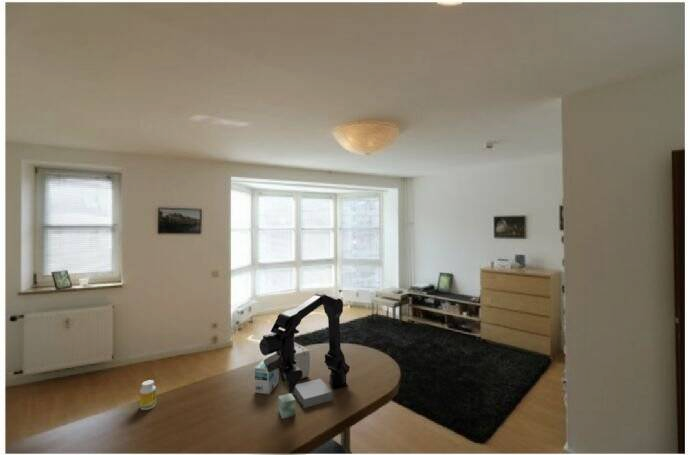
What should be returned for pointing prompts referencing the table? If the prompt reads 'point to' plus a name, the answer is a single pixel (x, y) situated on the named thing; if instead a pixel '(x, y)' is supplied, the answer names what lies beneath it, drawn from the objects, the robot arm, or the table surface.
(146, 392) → the supplement bottle
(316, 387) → the grey square block
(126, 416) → the table surface
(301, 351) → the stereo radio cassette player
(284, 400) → the teal block
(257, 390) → the light bulb box
